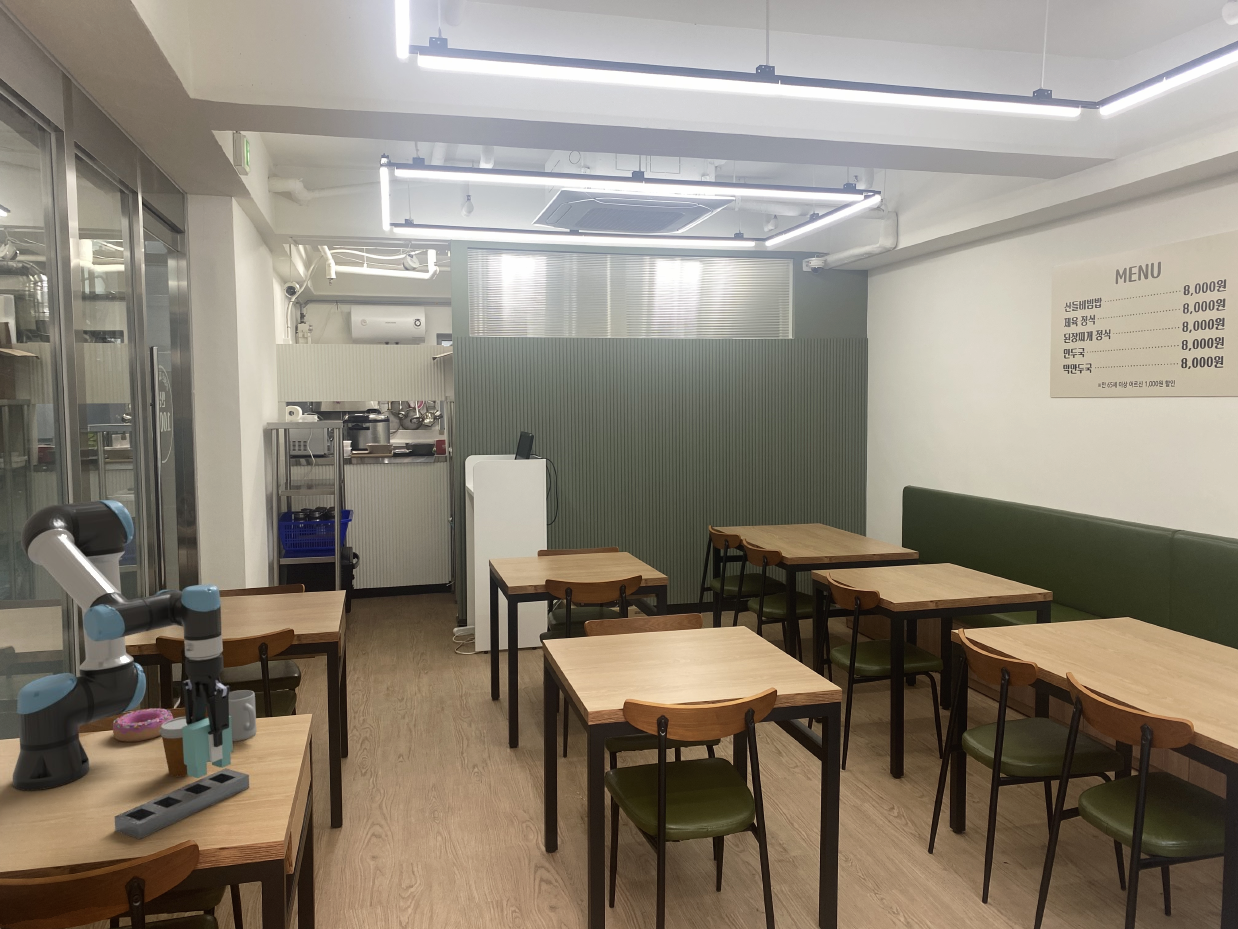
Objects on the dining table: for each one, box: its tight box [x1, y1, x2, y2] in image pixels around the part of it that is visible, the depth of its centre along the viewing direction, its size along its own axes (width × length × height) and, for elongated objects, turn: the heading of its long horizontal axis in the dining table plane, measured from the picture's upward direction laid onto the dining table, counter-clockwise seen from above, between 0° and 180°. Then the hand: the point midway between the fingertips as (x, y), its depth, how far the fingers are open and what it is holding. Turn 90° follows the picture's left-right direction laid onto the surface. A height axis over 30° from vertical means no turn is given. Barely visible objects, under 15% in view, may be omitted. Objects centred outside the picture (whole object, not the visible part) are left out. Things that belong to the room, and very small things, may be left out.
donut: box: [112, 707, 174, 743], centre depth 225 cm, size 14×14×5 cm
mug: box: [229, 689, 257, 742], centre depth 221 cm, size 12×8×11 cm
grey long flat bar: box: [114, 767, 250, 840], centre depth 181 cm, size 8×26×3 cm, turn 152°
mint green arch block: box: [182, 716, 234, 779], centre depth 186 cm, size 4×9×11 cm, turn 152°
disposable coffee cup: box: [159, 716, 192, 778], centre depth 200 cm, size 10×10×12 cm
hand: (209, 758), depth 186 cm, fingers closed on mint green arch block, 4 cm apart
